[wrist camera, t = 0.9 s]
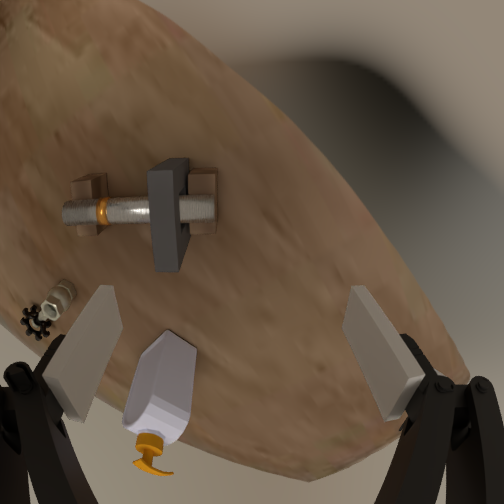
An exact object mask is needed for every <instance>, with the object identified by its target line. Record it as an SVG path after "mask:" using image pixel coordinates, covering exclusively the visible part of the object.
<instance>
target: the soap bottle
mask: <svg viewBox="0 0 504 504" xmlns="http://www.w3.org/2000/svg"><path fill="white" fill-rule="evenodd" d="M196 355H197V349H196V348H195V347H193V346H192V345H190V344H189V343H187V342H186V341H184V340H183V339H181V338H180V337H178V336H177V335H175V334H174V333H172V332H171V331H169V330H166V331H165V332H164V333H163V334H162V335H161V336H160V337H159V338H158V339H156V340H155V341H154V342H153V343H152V344H151V345H150V346H149V347H148V348H147V349H146V350H145V351H144V352H143V353H142V354H141V356H140V359H139V362H138V365H137V368H136V372H135V375H134V378H133V382H132V385H131V388H130V392H129V395H128V399H127V403H126V406H125V410H124V413H123V418H122V424H123V427H124V428H126V429H128V430H130V431H132V432H134V433H136V434H137V441H136V446H135V447H136V450H137V451H139V452H141V453H142V454H143V457H142V458H140V459H138V460H136V461H133V464H134V465H135V466H137V467H138V468H140V469H141V470H143V471H145V472H148V473H151V474H154V475H158V476H168V475H172V474H174V473H173V472H163V471H161V470H158V469H156V468H153V467H152V460H153V456H160V455H162V452H163V446H166V445H170V444H171V443H173V442H174V441H176V440H177V439H178V438H179V437H180V435H181V434H182V433H183V432H184V430H185V428H186V426H187V424H188V422H189V418H190V414H191V403H192V392H193V382H194V373H195V364H196Z"/></svg>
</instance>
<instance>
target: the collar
mask: <svg viewBox="0 0 504 504" xmlns="http://www.w3.org/2000/svg"><path fill="white" fill-rule="evenodd" d="M188 174H189V158H171V159H168V160H166V161H164V162H162V163H160V164H159V165H157V166H155V167H153V168H152V169H150V170H148V171H147V186H148V201H149V214H150V226H151V236H152V246H153V255H154V263H155V271H156V272H179V270H180V267H181V264H182V261H183V258H184V255H185V252H186V249H187V246H188V243H189V240H190V237H191V234H190V223H180V205H179V195H188Z"/></svg>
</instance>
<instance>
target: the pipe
mask: <svg viewBox="0 0 504 504" xmlns="http://www.w3.org/2000/svg"><path fill="white" fill-rule="evenodd" d="M179 205H180V223H215V195H179ZM62 218H63V222H64V223H65V225H67V226H76V225H112V224H142V223H150V214H149V201H148V196H138V197H117V198H112V197H102V198H99V199H85V200H72V201H66V202H65V203H64V205H63V208H62Z"/></svg>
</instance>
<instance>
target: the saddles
mask: <svg viewBox="0 0 504 504" xmlns="http://www.w3.org/2000/svg"><path fill="white" fill-rule="evenodd" d="M70 183H71V192H72V200H85V199H99V198H102V197H108V186H107V174H106V173H100V174H90V175H86V176H83V177H81V178H79V179H77V180H74V181H72V182H70ZM188 195H215V223H190V234H216V228H217V221H218V220H217V168H193V169H192V171H191V172H190V173H189V174H188ZM107 226H108V225H76V228H77V234H78V236H98V235H99V234H100V233H101V232H102V231H103V230H104V229H105V228H106V227H107Z"/></svg>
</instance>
